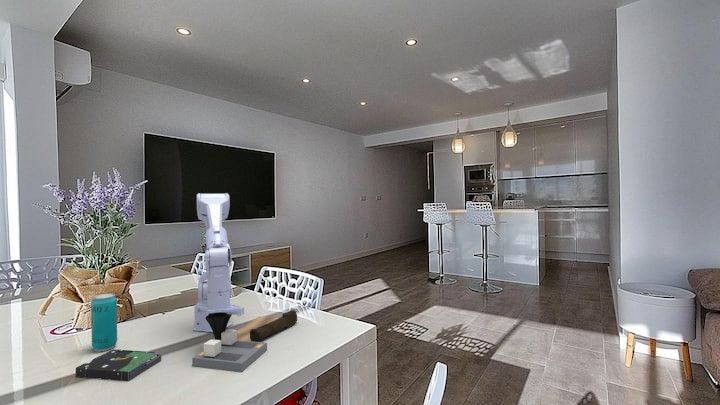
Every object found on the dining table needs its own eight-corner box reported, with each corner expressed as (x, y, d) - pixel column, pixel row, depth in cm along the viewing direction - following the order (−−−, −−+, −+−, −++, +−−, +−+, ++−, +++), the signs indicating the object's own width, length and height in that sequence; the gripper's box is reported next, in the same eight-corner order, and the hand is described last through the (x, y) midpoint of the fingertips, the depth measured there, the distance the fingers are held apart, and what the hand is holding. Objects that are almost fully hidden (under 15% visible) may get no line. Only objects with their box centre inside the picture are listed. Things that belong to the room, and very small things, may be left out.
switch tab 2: (221, 344, 91) (221, 333, 91) (227, 339, 94) (227, 329, 94) (231, 345, 90) (231, 334, 90) (237, 340, 93) (237, 330, 93)
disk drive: (74, 380, 79) (129, 383, 77) (73, 368, 79) (129, 371, 77) (112, 359, 89) (162, 361, 87) (112, 348, 89) (162, 351, 87)
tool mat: (217, 346, 97) (217, 343, 97) (259, 319, 119) (259, 316, 119) (244, 349, 95) (244, 345, 95) (282, 320, 117) (282, 318, 117)
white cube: (203, 355, 84) (203, 343, 84) (211, 350, 87) (211, 339, 87) (214, 356, 83) (214, 344, 83) (221, 351, 86) (221, 340, 86)
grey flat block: (192, 365, 84) (192, 357, 84) (222, 345, 95) (222, 338, 95) (241, 371, 80) (241, 363, 80) (267, 350, 92) (266, 342, 92)
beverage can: (95, 346, 96) (94, 294, 96) (119, 342, 98) (118, 292, 98) (88, 354, 91) (87, 299, 91) (114, 350, 93) (113, 297, 93)
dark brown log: (258, 344, 96) (258, 328, 96) (248, 341, 98) (248, 325, 98) (303, 324, 112) (303, 310, 112) (294, 321, 114) (294, 308, 114)
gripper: (185, 293, 90) (186, 342, 90) (233, 295, 87) (233, 347, 87) (203, 286, 97) (204, 332, 97) (248, 288, 94) (249, 336, 94)
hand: (219, 339), depth 93 cm, fingers closed
